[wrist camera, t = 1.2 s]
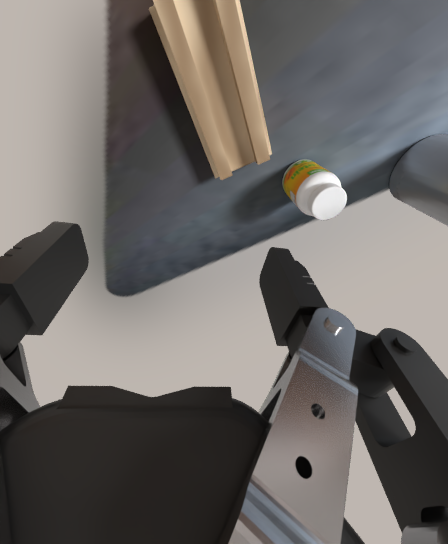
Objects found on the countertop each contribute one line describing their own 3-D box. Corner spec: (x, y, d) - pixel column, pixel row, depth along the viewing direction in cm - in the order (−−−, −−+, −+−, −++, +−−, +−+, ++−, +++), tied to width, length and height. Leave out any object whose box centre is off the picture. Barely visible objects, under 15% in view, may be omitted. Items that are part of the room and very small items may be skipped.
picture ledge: (228, -34, 20) (232, -53, 17) (269, 151, 29) (275, 157, 27) (151, 13, 21) (144, 1, 18) (214, 175, 31) (216, 182, 28)
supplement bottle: (311, 150, 30) (349, 168, 22) (322, 184, 33) (357, 210, 25) (275, 172, 31) (299, 197, 24) (289, 203, 34) (313, 233, 27)
